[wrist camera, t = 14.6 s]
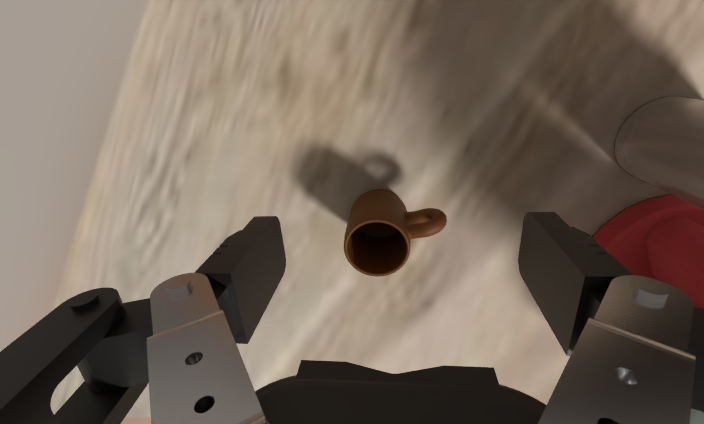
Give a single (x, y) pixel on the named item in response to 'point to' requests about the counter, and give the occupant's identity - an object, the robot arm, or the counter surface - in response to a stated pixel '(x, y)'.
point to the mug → (385, 232)
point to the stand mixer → (661, 247)
